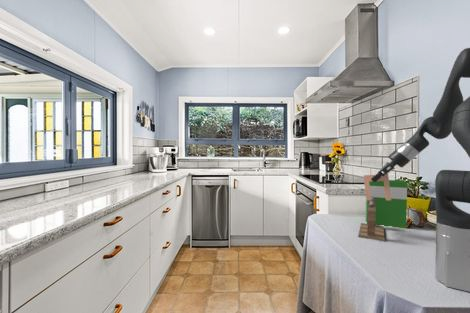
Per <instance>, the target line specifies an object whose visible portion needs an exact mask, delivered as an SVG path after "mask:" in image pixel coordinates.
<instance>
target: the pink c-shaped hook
mask: <svg viewBox="0 0 470 313" xmlns="http://www.w3.org/2000/svg"><path fill="white" fill-rule="evenodd" d="M375 175H376V174H363V183H364V190H365V192H364V193H365V201H366V200H371V194H370V185H369V181H372V180H371V179H372V178H373V177H374V176H375ZM389 180H390V178H389V173H388V174H385V175H384V176H383V177H381V178H380V179H378V180H377V181H384V189H385V197H386V200H391V194H390V186H389Z"/></svg>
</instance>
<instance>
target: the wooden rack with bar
mask: <svg viewBox="0 0 470 313" xmlns="http://www.w3.org/2000/svg"><path fill="white" fill-rule="evenodd" d="M375 216H376V199H375V198H374V197H371V200H369V204H368V224H367V223H364V222H360V225H359V230H358V236H357V237H358V238H361V239H369V240H374V241H379V242H385V231H384V226H380V225H375Z"/></svg>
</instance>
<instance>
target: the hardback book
mask: <svg viewBox="0 0 470 313" xmlns="http://www.w3.org/2000/svg"><path fill="white" fill-rule="evenodd" d="M369 185H370V194H371V197H374V198H375V199H376V216H375V225H378V226H380V225H384V226H383V227H388V226H392V227H391V228H397V227H398V228H399V229H404V230H405V229H407V219H406V216H407V208H408V205H407V204H408V203H407V202H408V181H404V180H396V179H395V180H394V179H393V180H392V179H389V186H390V194H391V200H386V197H385V189H384V181H376V182H373V181H369ZM368 204H369V200H366V199H365V222H367V223H366V224H368ZM398 228H397V229H398Z"/></svg>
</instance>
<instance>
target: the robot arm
mask: <svg viewBox="0 0 470 313" xmlns="http://www.w3.org/2000/svg"><path fill="white" fill-rule="evenodd" d="M461 78H464V79H467V78H468V79H469V78H470V47H466V48H463V50H461V51H460V52H459V54H458V55H457V57H456V58H455V61H454V64H453V66H452V68H451V71H450V72H449V76H448V78H447V81H446V84H445V86H444V89H443V94H442V95H441V98H440V99H439V102H438V104H437V106H436V108H435V109H434V111H433V114H432V116H429V117H427V118H425V119H424V120H423V121H422V123H421V124H420V126H419V127H418V129H417V130H416V131H415V133H414V134H412V136H411V137H410V138H409V139H408V140H406V141H405V142H404V143H403V144H401V145H400V146H398V147H397V148H396V149H395V150H393V152H392V153H390V154H389V155H388V158H389V159H390V160H391V161H390V162H388V161H387V162H386V163H385V164H384V165H383V166H382V167H381V168H379V169H380V170H378V171H377V172H376V174H374V175H375V176H374V177H373V178H372V179H371V180H372V181H373V182H376V181H377V180H378V179H380V178H381V177H383V176H384V175H385V174H388V175H389V173H390V172H391V171H394V170H395V169H396V168H395V167H396V166H398V167H400V168H404V167H405V166H406V165H408V164H410V162H411V161H412V160H414V159H415V158H416V157H417V156H418V155H419V154H420V153H421V152H423V150H425V149H427V147H428V146H429V145H430V142H429V140H428V139H427V138H426V137H425V136H424V135H425V133H427V134H428V135H429V136H431V137H433V138H435V139H437V140H442V139H446V138H448V137H449V136H450V135H451V134H452V136H453V138H454V139H455V140H456V141H457V143H458V144H459V145H460V147H461V148H462V149H463V150H464V151H465V152H466V155H467V156H468V157H469V159H470V96H468V97H467V98H466V99H465V100H464V97H463V94H462V91H461V88H460V81H461ZM434 184H435V186H434V187H435V188H434V189H435V190H434V191H435V214H436V220H435V221H436V224H435V226H436V227H435V255H434V257H435V261H434V262H435V266H434V269H435V270H434V277H435V279H436V280H437V282H438V281H439V283H442V284H443V285H444V287H447V288H452V289H456V290H460V291H464V292H469V293H470V213H468V212H466V211H465V210H462V209H461V208H459V207H457V206H456V204H454V202H458V203H465V204H470V170H461V169H460V170H458V169H457V170H454V169H442V170H439V171H438V173H437V174H436V177H435V182H434Z"/></svg>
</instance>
